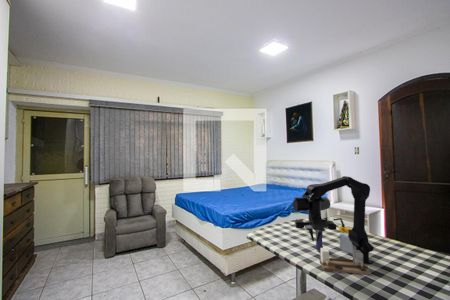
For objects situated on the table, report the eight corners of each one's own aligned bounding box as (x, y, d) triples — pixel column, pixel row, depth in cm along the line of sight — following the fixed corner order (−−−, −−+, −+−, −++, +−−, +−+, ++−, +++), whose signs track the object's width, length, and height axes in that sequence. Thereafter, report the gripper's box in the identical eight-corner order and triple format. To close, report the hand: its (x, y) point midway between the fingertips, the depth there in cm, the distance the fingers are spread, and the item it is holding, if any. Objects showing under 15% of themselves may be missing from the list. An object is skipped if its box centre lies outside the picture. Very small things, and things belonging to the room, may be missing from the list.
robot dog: (336, 235, 144) (335, 215, 144) (364, 245, 128) (364, 223, 128) (330, 237, 141) (330, 216, 141) (359, 247, 125) (358, 224, 125)
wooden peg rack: (319, 261, 110) (318, 247, 110) (362, 264, 107) (361, 249, 107) (324, 270, 101) (323, 255, 102) (371, 274, 98) (370, 258, 98)
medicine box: (358, 253, 119) (357, 237, 119) (353, 254, 117) (352, 238, 117) (344, 247, 126) (344, 232, 126) (339, 249, 124) (339, 233, 124)
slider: (320, 259, 109) (320, 247, 109) (327, 260, 109) (326, 248, 109) (324, 266, 103) (324, 254, 103) (331, 267, 102) (330, 254, 102)
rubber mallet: (316, 255, 116) (315, 199, 116) (306, 250, 123) (305, 197, 123) (332, 250, 121) (331, 197, 122) (321, 245, 128) (320, 195, 129)
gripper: (297, 214, 102) (298, 247, 102) (340, 215, 99) (340, 250, 98) (294, 208, 113) (294, 238, 113) (332, 209, 110) (333, 240, 109)
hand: (315, 241), depth 108 cm, fingers closed
